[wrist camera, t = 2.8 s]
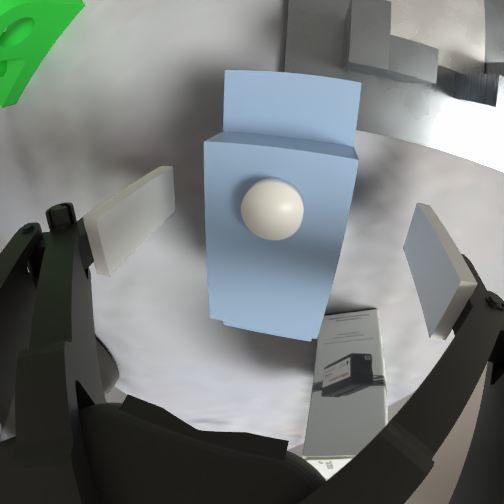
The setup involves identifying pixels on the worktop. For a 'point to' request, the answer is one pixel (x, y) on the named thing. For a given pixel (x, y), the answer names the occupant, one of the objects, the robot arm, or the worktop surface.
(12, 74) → the mechanical part
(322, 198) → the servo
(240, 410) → the worktop surface
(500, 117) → the chassis pocket
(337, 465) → the ink box
